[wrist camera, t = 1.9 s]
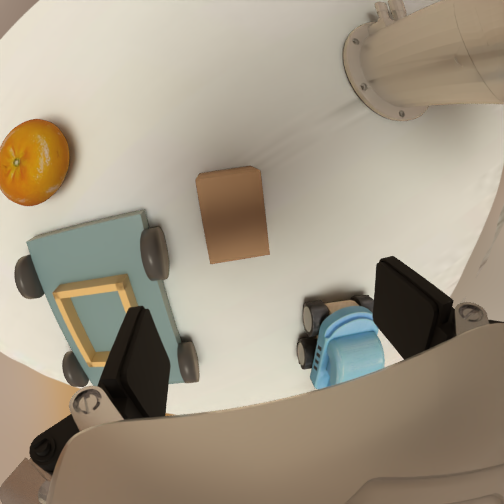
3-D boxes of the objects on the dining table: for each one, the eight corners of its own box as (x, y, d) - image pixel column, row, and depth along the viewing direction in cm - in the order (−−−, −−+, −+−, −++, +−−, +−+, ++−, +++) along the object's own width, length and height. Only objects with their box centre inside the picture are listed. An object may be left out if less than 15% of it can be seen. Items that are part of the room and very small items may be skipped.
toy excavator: (290, 385, 38) (322, 483, 22) (302, 290, 32) (368, 401, 16) (341, 376, 39) (386, 462, 23) (365, 284, 33) (448, 372, 17)
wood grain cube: (199, 173, 26) (195, 180, 20) (250, 165, 26) (260, 170, 21) (210, 240, 29) (210, 264, 23) (258, 233, 29) (269, 254, 24)
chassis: (27, 238, 25) (4, 253, 20) (158, 206, 26) (147, 219, 22) (89, 377, 33) (80, 400, 29) (202, 370, 35) (202, 397, 30)
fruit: (87, 174, 21) (9, 169, 14) (53, 219, 25) (-9, 223, 17) (77, 109, 22) (14, 97, 14) (45, 158, 25) (-10, 155, 18)
